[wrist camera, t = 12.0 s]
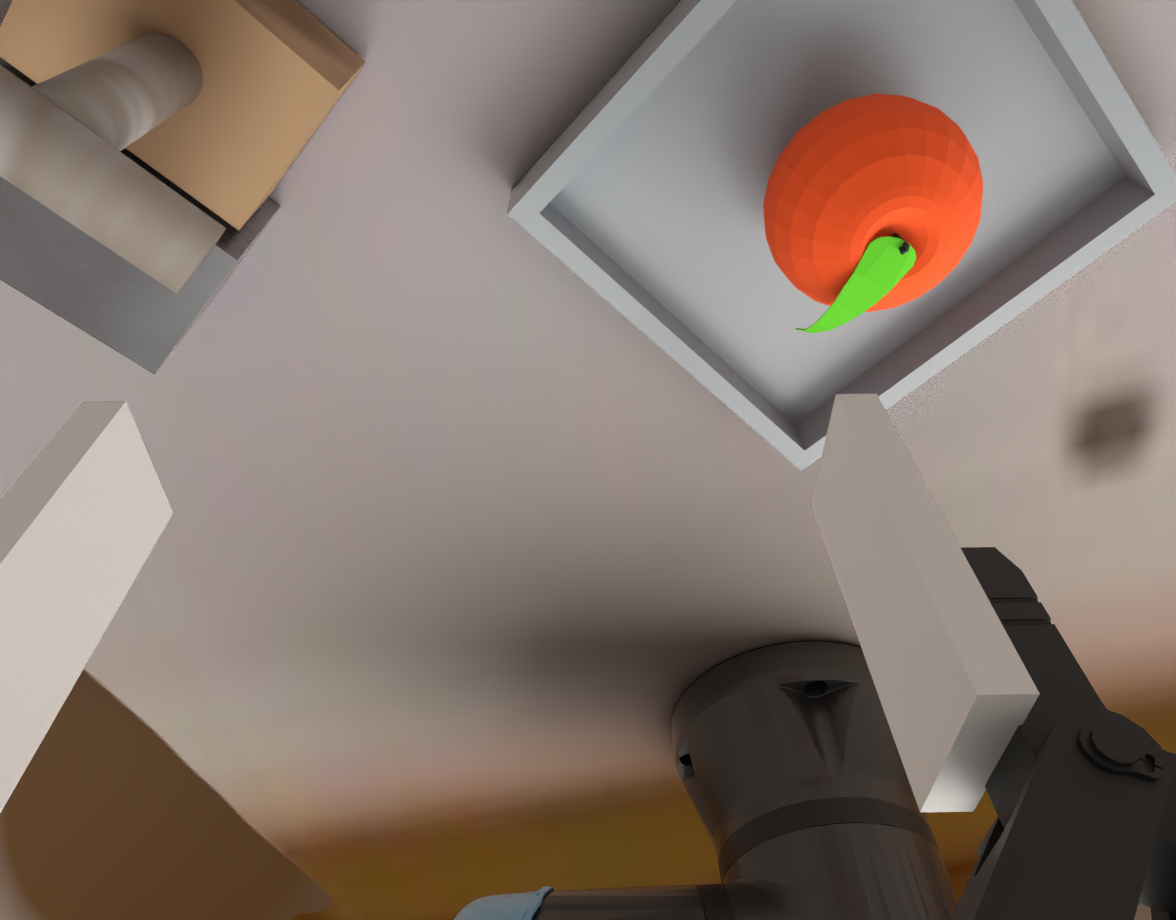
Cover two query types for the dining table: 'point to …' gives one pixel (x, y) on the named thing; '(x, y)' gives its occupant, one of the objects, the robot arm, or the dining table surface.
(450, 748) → the dining table surface
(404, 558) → the dining table surface
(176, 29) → the slider
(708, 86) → the tray
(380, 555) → the dining table surface
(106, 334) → the frame
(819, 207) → the clementine
